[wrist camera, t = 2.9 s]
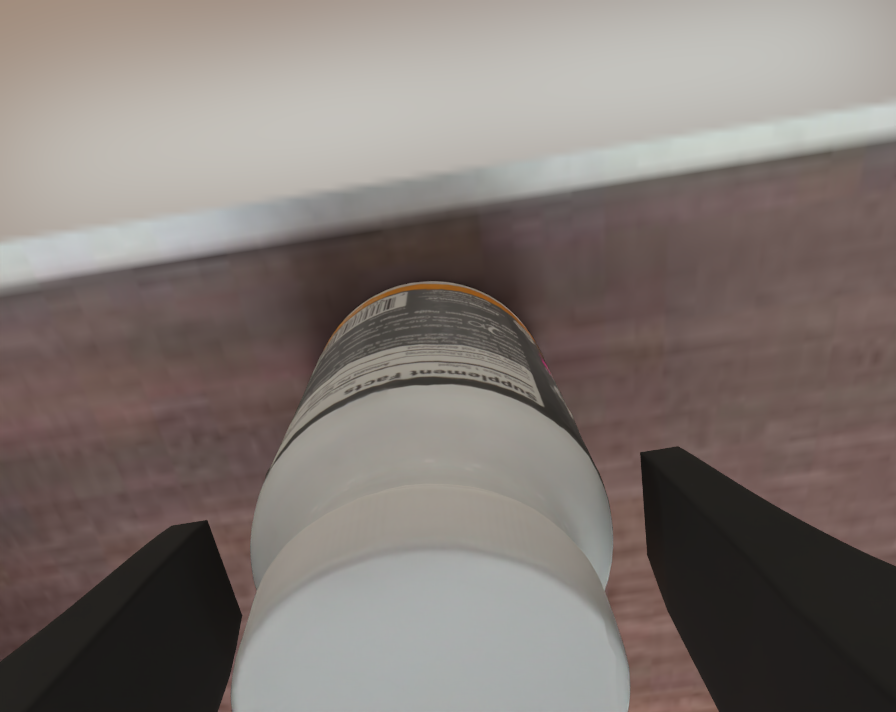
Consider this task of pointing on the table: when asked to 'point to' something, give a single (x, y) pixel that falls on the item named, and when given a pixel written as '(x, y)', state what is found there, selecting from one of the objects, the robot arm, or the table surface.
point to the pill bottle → (431, 527)
